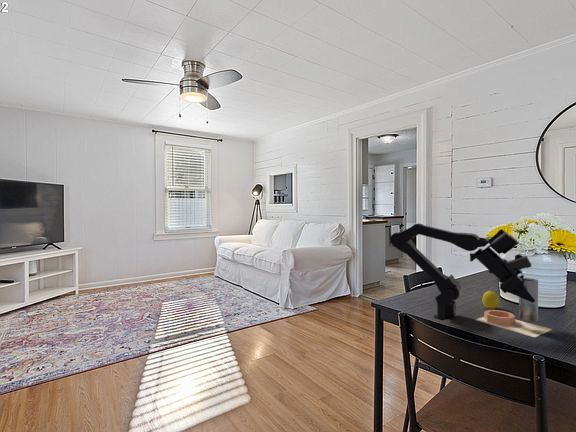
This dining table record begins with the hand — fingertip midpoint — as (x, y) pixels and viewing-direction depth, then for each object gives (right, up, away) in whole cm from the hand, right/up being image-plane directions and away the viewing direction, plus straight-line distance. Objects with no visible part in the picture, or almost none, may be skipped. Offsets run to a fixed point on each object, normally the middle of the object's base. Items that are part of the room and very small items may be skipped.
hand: (533, 299), depth 105 cm
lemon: (+1, -10, +23) cm, 25 cm away
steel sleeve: (-1, -7, +1) cm, 7 cm away
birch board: (-3, -11, +6) cm, 13 cm away
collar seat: (-5, -11, +9) cm, 15 cm away
